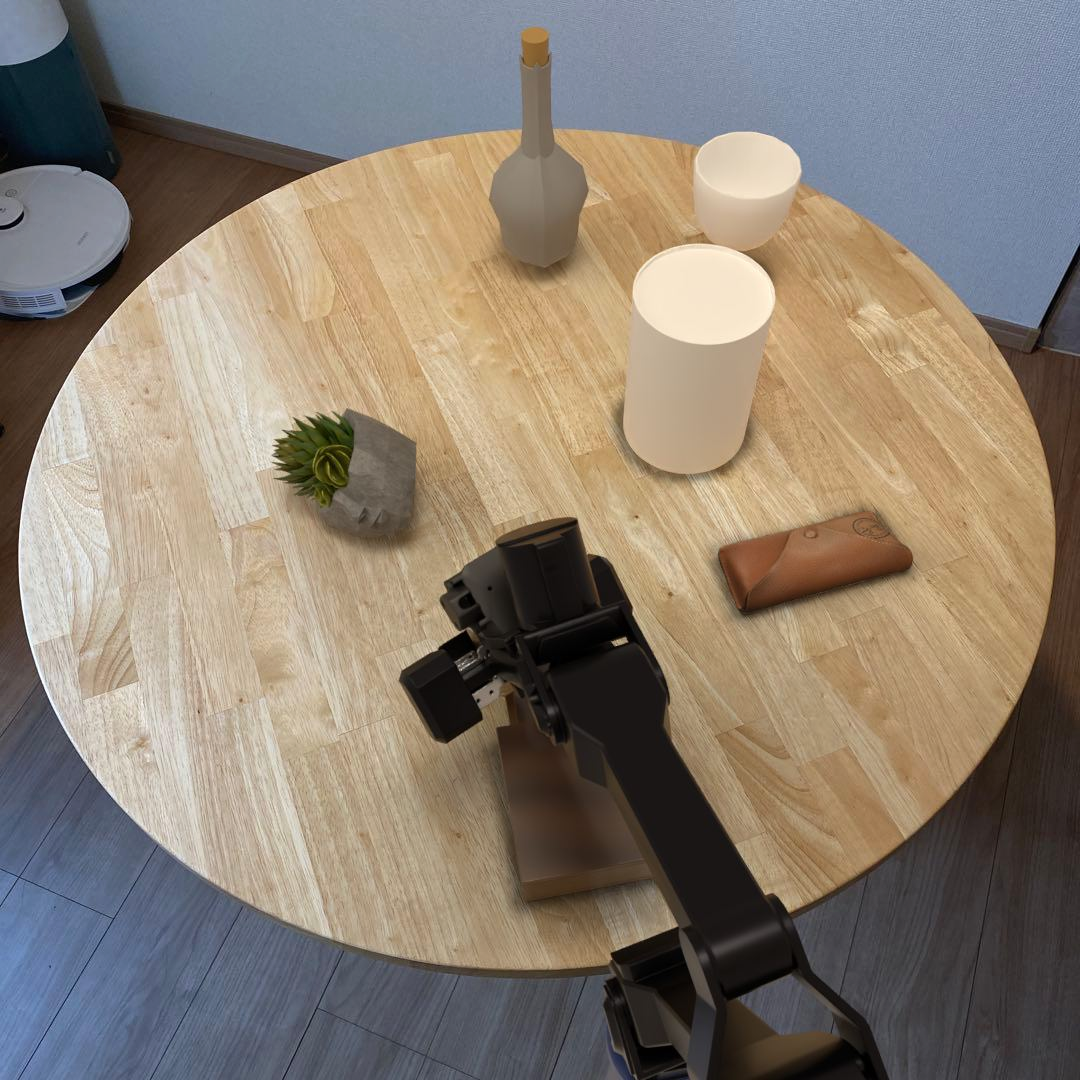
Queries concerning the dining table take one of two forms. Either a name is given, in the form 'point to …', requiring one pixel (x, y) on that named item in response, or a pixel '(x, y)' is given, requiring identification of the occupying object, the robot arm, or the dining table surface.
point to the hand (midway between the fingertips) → (483, 628)
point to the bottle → (538, 171)
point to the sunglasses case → (810, 561)
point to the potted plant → (352, 472)
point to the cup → (744, 188)
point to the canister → (694, 355)
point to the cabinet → (562, 820)
